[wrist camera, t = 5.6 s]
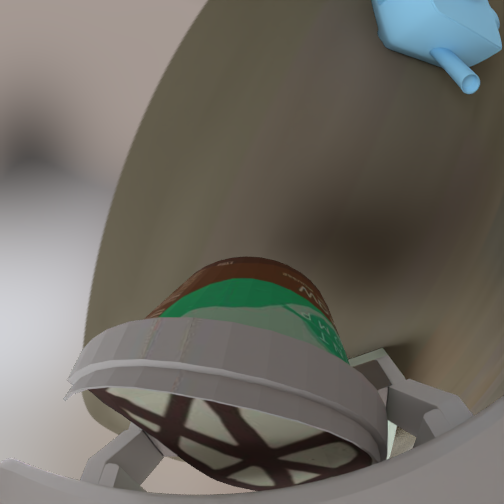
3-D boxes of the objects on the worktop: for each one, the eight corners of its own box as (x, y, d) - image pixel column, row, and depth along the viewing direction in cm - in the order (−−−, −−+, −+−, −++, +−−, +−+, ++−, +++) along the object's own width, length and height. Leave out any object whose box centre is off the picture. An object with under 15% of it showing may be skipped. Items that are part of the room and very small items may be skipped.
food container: (390, 332, 15) (448, 472, 6) (314, 386, 17) (320, 524, 8) (239, 180, 13) (137, 241, 4) (165, 263, 15) (49, 387, 6)
